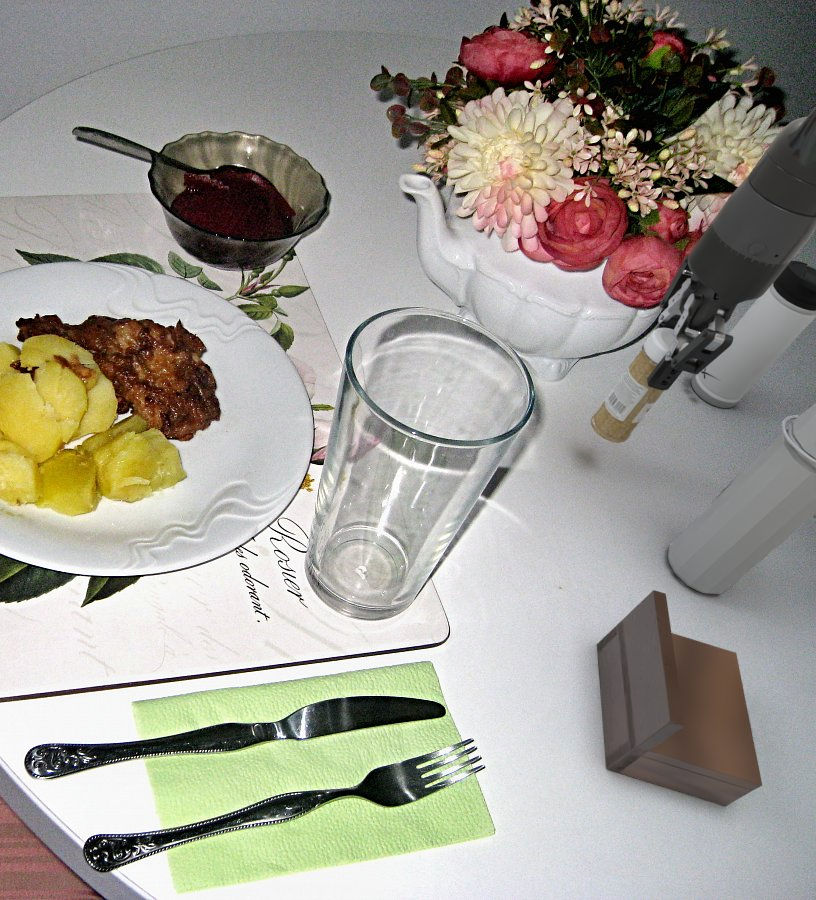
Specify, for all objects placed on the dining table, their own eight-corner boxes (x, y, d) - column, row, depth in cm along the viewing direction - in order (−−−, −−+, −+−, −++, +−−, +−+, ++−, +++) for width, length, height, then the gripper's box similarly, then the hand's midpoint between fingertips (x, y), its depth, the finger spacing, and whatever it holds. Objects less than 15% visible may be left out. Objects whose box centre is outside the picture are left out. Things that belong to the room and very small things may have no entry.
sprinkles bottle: (633, 446, 100) (704, 358, 90) (596, 442, 99) (663, 353, 89) (619, 415, 103) (686, 328, 93) (583, 412, 102) (646, 323, 92)
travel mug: (684, 392, 117) (786, 271, 102) (696, 367, 121) (795, 247, 106) (730, 417, 115) (840, 298, 100) (740, 391, 119) (847, 273, 104)
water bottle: (738, 607, 94) (922, 454, 76) (667, 588, 94) (834, 430, 75) (719, 538, 100) (886, 381, 82) (653, 520, 100) (804, 359, 82)
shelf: (704, 676, 87) (771, 625, 80) (726, 806, 79) (803, 762, 71) (596, 643, 87) (653, 589, 80) (606, 769, 79) (670, 721, 71)
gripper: (812, 293, 76) (696, 427, 89) (779, 206, 86) (678, 338, 99) (727, 268, 76) (624, 405, 89) (703, 184, 86) (613, 318, 99)
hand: (653, 369), depth 94 cm, fingers closed on sprinkles bottle, 4 cm apart
